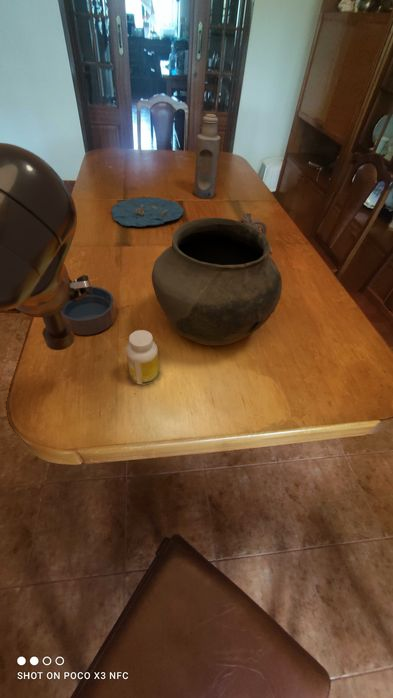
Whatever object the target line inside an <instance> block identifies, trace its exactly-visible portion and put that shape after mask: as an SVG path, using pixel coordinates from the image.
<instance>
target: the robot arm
mask: <svg viewBox="0 0 393 698" xmlns="http://www.w3.org/2000/svg"><path fill="white" fill-rule="evenodd" d="M77 225H78V215H77V208H76V204H75V201H74V198H73V196H72V194H71V191H70V190H69V188H68V186H67V185H66V183H65V181H64V180H63V179H62V178H61V176H60V175H59V174H58V173H57V172H56V171H55V169H54V168H53V167H52V166H51V165H50V164H49V163H48V162H47V161H45V159H43V158H41V156H39V155H37V154H35V153H34V152H33V151H30V150H28V149H26V148H24V147H22V146H19V145H16V144H12V143H7V142H0V314H21V313H22V314H23V315H25V316H29V317H33V318H42V317H48V316H51V315H54V314H56V313H58V312H59V311H60V310H62V309H63V308H64V306H65V305H66V303H67V302H68V299H71V301H74V302H75V301H77V300H79V299H81V298H83V297H85V296H86V295H88V294H90V293H92V289H91V286H92V285H91V283H90V279H89V276H88V275H85V274H83V275H81V276H79V277H78V278H73V280H72V279H71V277H70V276H69V273H68V268H67V267H66V264H65V261H66V258H67V256H68V253H69V251H70V248H71V246H72V243H73V240H74V238H75V235H76V231H77V230H76V229H77Z"/></svg>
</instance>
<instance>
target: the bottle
mask: <svg viewBox="0 0 393 698" xmlns="http://www.w3.org/2000/svg"><path fill="white" fill-rule="evenodd" d="M218 124H219V118H218V117H217V115H216V114H212V113H206V114H205V116H203V118H202V127H201V133H199V134H197V136H196V151H195V152H196V155H195V171H194V172H195V173H194V189H193V193H194V196H196V197H198V198H201V199H211V198H213V197H215V195H216V184H217V175H218V166H219V157H220V149H221V147H220V146H221V136H219V135H218Z"/></svg>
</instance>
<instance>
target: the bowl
mask: <svg viewBox="0 0 393 698" xmlns="http://www.w3.org/2000/svg"><path fill="white" fill-rule="evenodd" d="M90 286H91V289H92V293H90V294H88V295H86V296H85V297H83V298H81V299H79V300H77V301H75V302H74V301H71V299H68V302H67V303H66V305H65V306H64V308H63V309H62V310H60V311H61V314H62V317H63V320H64V322H66V323H68V324H70V326H71V327H72V331H73V334H74V335H78V336H92V335H93V336H94V335H97V334H100V333H102V332H105V331H106V330H107V329H108V328H110V327H111V326H112V325H114V322H115V320H116V319H117V310H116V303H115V298H114V296H113V294H112V293H111V292H110V291H109V290H107V289H105V288H103V287H100V286H94V285H90Z"/></svg>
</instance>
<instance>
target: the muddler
mask: <svg viewBox="0 0 393 698" xmlns="http://www.w3.org/2000/svg"><path fill="white" fill-rule="evenodd" d="M41 319H42V321H43V324H44V326H45V327H44V328H43V329H42V333H41V334H42V338H43V341H44V342H45V345H46V346H47V348H48V349H50V350H53V351H62V350H65V349H68V348H69V347H71V346H72V345H73V344H74V342H75V340H76V339H75V338H76V337H75V334H74V333H73V331H72V327H71V326H70V324H68V323H66V322H64V320H63V317H62V314H61V311H59V312H58V313H56V314H54V315H51V316H48V317H41Z"/></svg>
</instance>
